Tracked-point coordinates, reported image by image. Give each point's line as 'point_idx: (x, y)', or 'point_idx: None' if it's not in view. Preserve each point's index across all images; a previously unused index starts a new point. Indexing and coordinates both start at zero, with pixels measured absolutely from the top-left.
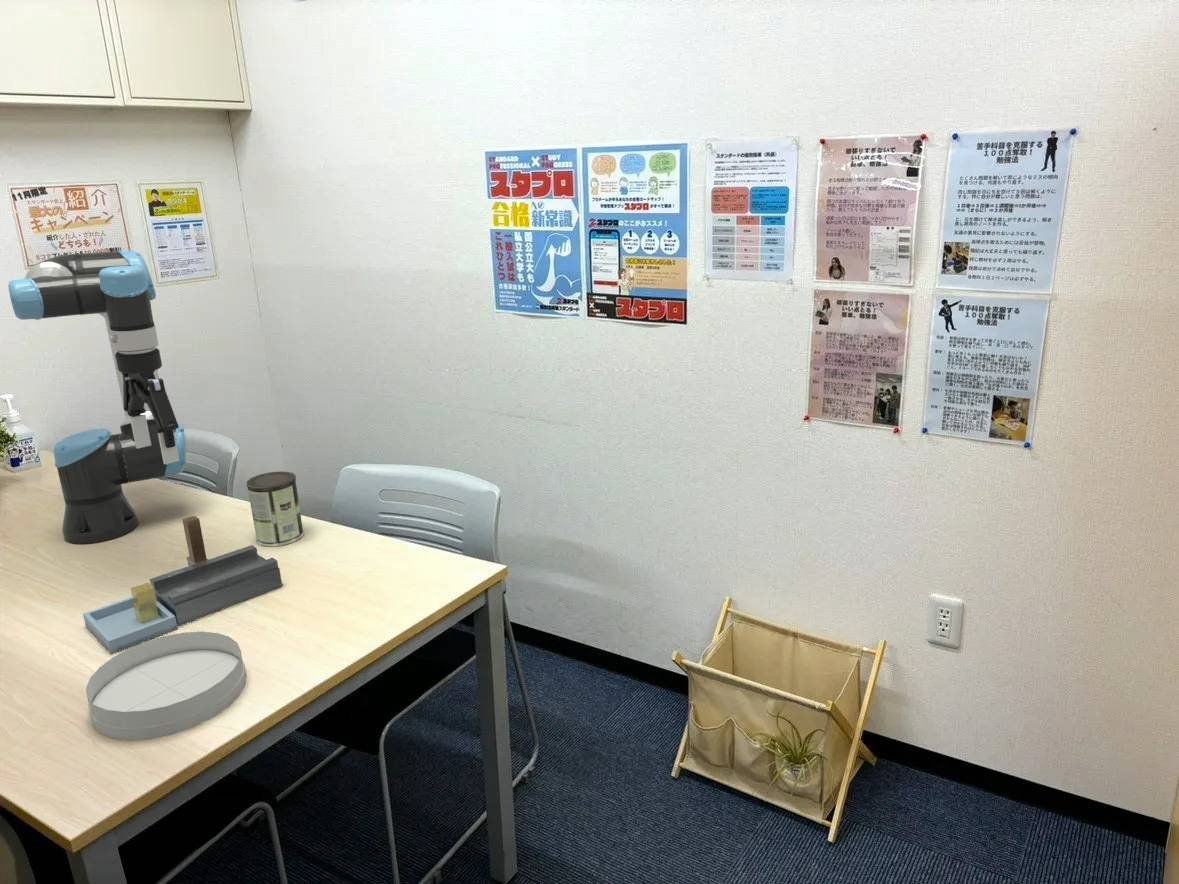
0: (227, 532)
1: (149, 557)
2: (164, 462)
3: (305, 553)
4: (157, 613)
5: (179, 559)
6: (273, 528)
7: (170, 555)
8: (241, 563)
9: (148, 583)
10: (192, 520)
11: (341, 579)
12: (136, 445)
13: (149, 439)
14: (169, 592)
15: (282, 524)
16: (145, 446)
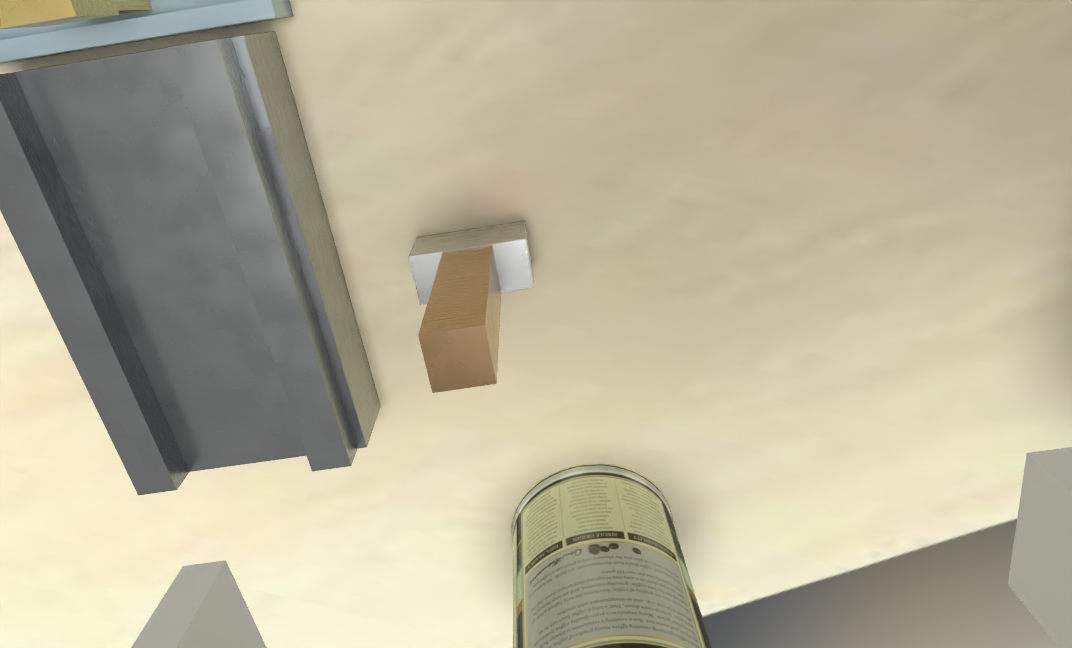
0: (783, 412)
1: (781, 115)
2: (186, 580)
3: (398, 550)
4: None
5: (661, 213)
6: (523, 551)
7: (731, 192)
8: (265, 390)
9: (63, 15)
10: (425, 361)
11: (134, 570)
12: (1070, 476)
13: (1059, 641)
14: (117, 94)
15: (513, 585)
16: (1015, 533)
